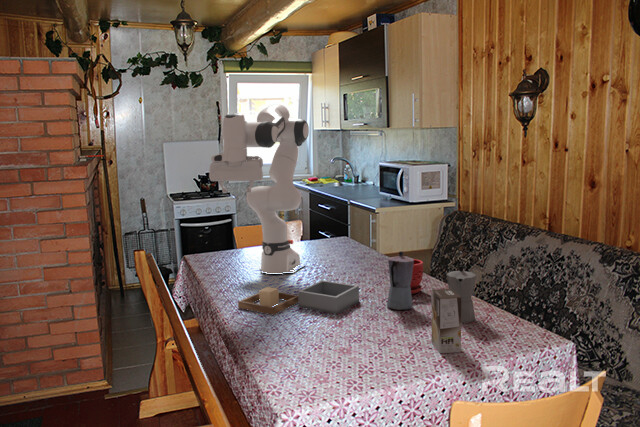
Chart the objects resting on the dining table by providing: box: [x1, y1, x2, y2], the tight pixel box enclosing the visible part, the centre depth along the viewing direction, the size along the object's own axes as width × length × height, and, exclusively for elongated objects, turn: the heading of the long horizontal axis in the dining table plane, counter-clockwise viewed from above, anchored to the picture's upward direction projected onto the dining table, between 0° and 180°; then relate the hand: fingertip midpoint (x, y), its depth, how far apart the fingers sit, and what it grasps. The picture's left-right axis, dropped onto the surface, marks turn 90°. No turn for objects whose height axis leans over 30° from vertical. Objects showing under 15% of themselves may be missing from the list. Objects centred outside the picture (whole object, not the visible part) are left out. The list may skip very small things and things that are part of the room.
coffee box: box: [431, 288, 462, 354], centre depth 154 cm, size 9×6×16 cm
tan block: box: [258, 286, 280, 307], centre depth 197 cm, size 5×5×6 cm
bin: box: [297, 280, 360, 315], centre depth 196 cm, size 16×16×6 cm
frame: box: [237, 291, 299, 316], centre depth 197 cm, size 16×16×2 cm
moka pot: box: [386, 251, 414, 311], centre depth 190 cm, size 10×15×20 cm, turn 155°
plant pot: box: [410, 258, 424, 295], centre depth 209 cm, size 13×13×12 cm
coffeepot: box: [446, 265, 477, 324], centre depth 178 cm, size 15×9×18 cm, turn 162°
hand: (236, 192), depth 206 cm, fingers open, 8 cm apart
